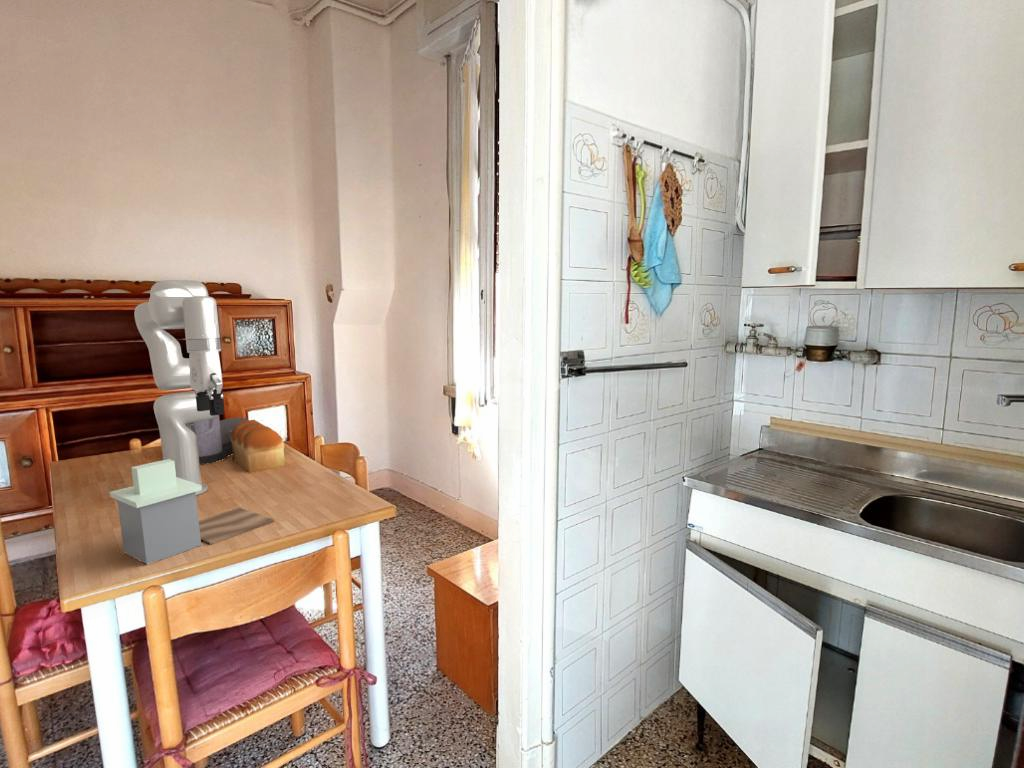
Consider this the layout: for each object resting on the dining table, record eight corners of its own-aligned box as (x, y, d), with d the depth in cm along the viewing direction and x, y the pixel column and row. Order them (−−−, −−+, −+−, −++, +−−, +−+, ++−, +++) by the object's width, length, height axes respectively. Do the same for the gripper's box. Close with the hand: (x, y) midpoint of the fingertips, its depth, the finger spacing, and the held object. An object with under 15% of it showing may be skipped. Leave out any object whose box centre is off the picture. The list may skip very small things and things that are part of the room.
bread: (231, 459, 212) (228, 422, 210) (266, 453, 220) (262, 417, 218) (249, 474, 193) (245, 432, 191) (286, 466, 201) (283, 427, 199)
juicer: (196, 468, 201) (189, 402, 198) (167, 464, 207) (159, 400, 204) (262, 448, 228) (257, 390, 225) (234, 445, 235) (229, 388, 231)
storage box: (124, 552, 131) (116, 496, 129) (177, 535, 141) (171, 482, 139) (147, 565, 125) (139, 505, 123) (201, 545, 134) (195, 490, 132)
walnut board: (176, 530, 144) (176, 527, 144) (239, 509, 158) (239, 507, 158) (210, 544, 135) (210, 542, 135) (274, 521, 149) (274, 519, 149)
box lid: (110, 500, 129) (106, 467, 128) (174, 484, 141) (170, 453, 139) (137, 512, 121) (133, 476, 120) (202, 493, 133) (198, 460, 132)
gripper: (176, 346, 142) (183, 411, 144) (198, 348, 130) (206, 419, 133) (208, 344, 148) (214, 407, 150) (232, 345, 136) (238, 414, 138)
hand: (210, 412), depth 141 cm, fingers open, 9 cm apart
